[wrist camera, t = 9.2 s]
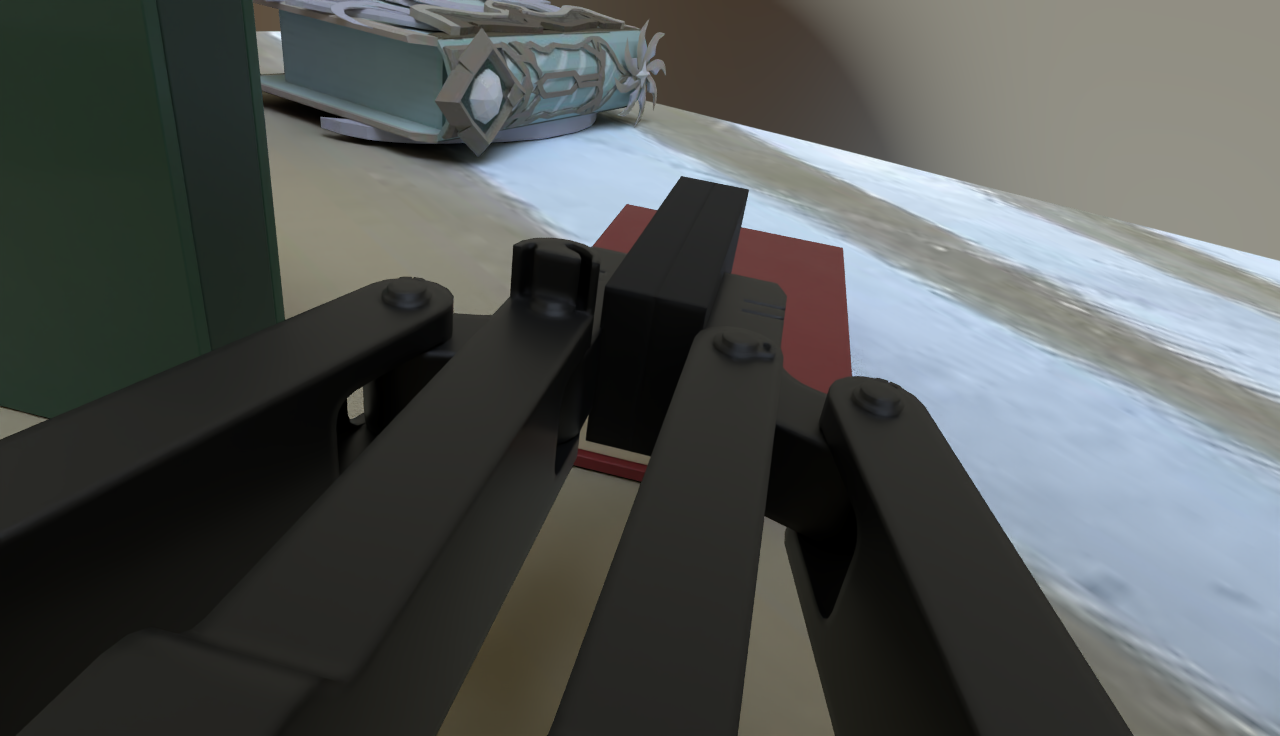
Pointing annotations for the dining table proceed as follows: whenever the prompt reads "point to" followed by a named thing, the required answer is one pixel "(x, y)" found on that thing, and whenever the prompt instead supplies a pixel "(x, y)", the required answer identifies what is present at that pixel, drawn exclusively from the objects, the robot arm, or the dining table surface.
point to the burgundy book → (809, 322)
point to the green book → (128, 193)
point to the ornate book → (459, 68)
